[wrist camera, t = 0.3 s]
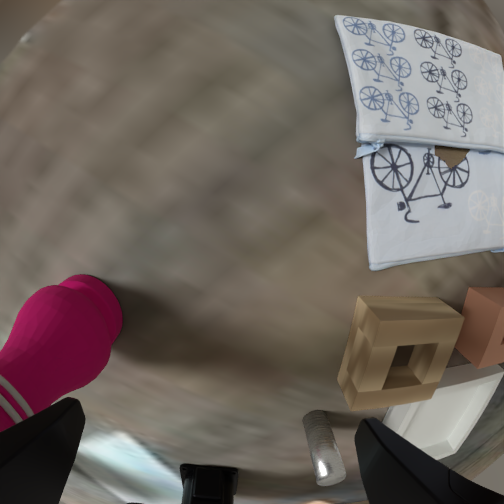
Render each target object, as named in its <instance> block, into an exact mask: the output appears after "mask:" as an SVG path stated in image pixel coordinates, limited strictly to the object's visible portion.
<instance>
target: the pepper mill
mask: <svg viewBox="0 0 504 504" xmlns="http://www.w3.org/2000/svg"><path fill="white" fill-rule="evenodd" d="M122 323H123V318H122V311H121V307H120V305H119V302H118V300H117V298H116V297H115V295H114V294H113V292H112V291H111V290H110V289H109V288H108V287H107V286H106V285H105V284H104V283H103V282H101V281H100V280H98V279H97V278H95V277H92V276H89V275H82V274H80V275H74V276H71V277H69V278H68V279H66V280H65V281H63V282H62V283H60V284H59V285H52V286H47V287H44V288H42V289H40V290H38V291H37V292H36V293H35V294H33V295H32V296H31V297H30V298H29V299H28V300H27V301H26V302H25V304H24V305H23V307H22V308H21V310H20V311H19V313H18V316H17V318H16V321H15V323H14V326H13V329H12V331H11V333H10V336H9V338H8V340H7V342H6V343H5V345H4V347H3V349H2V350H1V351H0V432H1V431H3V430H5V429H7V428H9V427H11V426H13V425H15V424H17V423H19V422H21V421H23V420H25V419H27V418H29V417H31V416H32V415H34V414H36V413H38V412H40V411H42V410H44V409H46V408H47V407H49V406H50V405H51V404H52V403H53V402H55V401H56V400H57V399H59V398H60V397H61V396H63V395H65V394H67V393H69V392H71V391H74V390H76V389H79V388H81V387H84V386H85V385H87V384H88V383H90V382H91V381H93V380H94V379H95V378H96V377H97V376H98V375H99V374H100V373H101V371H102V370H103V369H104V367H105V366H106V365H107V363H108V360H109V357H110V353H111V345H112V344H113V342H114V341H115V339H116V338H117V336H118V335H119V333H120V331H121V328H122Z"/></svg>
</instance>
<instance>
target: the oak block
mask: <svg viewBox="0 0 504 504" xmlns="http://www.w3.org/2000/svg"><path fill="white" fill-rule="evenodd" d="M464 319H465V317H463V316H462V315H461V314H459V313H458V312H457V311H455V310H454V309H453V308H451V307H450V306H448V305H447V304H446V303H444V302H443V301H441V300H440V299H439V298H437V297H385V296H358V299H357V303H356V308H355V312H354V317H353V321H352V325H351V329H350V333H349V337H348V341H347V345H346V349H345V353H344V356H343V360H342V363H341V367H340V370H339V374H338V377H337V380H338V383H339V385H340V387H341V390H342V392H343V394H344V397H345V399H346V401H347V403H348V406H349V408H350V410H351V411H358V410H367V409H375V408H383V407H390V406H396V405H402V404H408V403H414V402H419V401H424V400H429V399H431V398H432V396H433V394H434V392H435V390H436V388H437V386H438V384H439V382H440V380H441V377H442V375H443V373H444V371H445V368H446V366H447V364H448V361H449V359H450V356H451V354H452V351H453V349H454V346H455V344H456V341H457V338H458V336H459V333H460V330H461V327H462V325H463V322H464Z"/></svg>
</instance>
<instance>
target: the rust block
mask: <svg viewBox="0 0 504 504" xmlns="http://www.w3.org/2000/svg"><path fill="white" fill-rule="evenodd" d="M461 315H462V316H463V317H465V319H464V322H463V325H462V327H461V330H460V333H459V336H458V338H457V341H456V344H455V346H454V347H455V348H456V349H457V350H458V351H459V352H460V353H461V354H462V355H463V356H464V357H465V358H466V359H468V360H469V361H470V362H471V363H472V364H473V365H474V366H475V367H476V368H477V369H480V368H484V367H488V366H492V365H495V364H499V363H503V362H504V288H503V287H469V289H468V292H467V296H466V299H465V303H464V306H463V309H462V312H461Z"/></svg>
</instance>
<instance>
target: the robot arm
mask: <svg viewBox="0 0 504 504" xmlns="http://www.w3.org/2000/svg"><path fill="white" fill-rule="evenodd" d="M84 425H85V415H84V412H83V409H82V406H81V403H80V401H79V400H78V399H75V398H71V397H66V398H64V399H62V400H60V401H59V402H57V403H55V404H53V405H51V406H49V407H47V408H46V409H44V410H42V411H40V412H38V413H36V414H34V415H32V416H31V417H29V418H27V419H25V420H23V421H21V422H19V423H17V424H15V425H13V426H11V427H9V428H7V429H5V430H3V431H1V432H0V504H59V501H60V498H61V495H62V492H63V490H64V487H65V484H66V482H67V479H68V476H69V474H70V471H71V468H72V466H73V463H74V461H75V458H76V454H77V451H78V447H79V443H80V440H81V436H82V432H83V429H84ZM355 446H356V451H357V457H358V462H359V468H360V473H361V478H362V481H363V485H364V488H365V491H366V494H367V498H368V501H369V504H504V495H501V494H499V493H496V492H494V491H492V490H489V489H487V488H485V487H482V486H480V485H478V484H476V483H474V482H472V481H470V480H468V479H466V478H465V477H463V476H461V475H459V474H458V473H456V472H455V471H453V470H451V469H449V468H448V467H447V466H445V465H443V464H442V463H440V462H439V461H437V460H436V459H434V458H433V457H431V456H430V455H428V454H427V453H425V452H424V451H422V450H421V449H419V448H418V447H416V446H415V445H413V444H412V443H410V442H409V441H407V440H406V439H405V438H403V437H402V436H400V435H399V434H397V433H396V432H394V431H393V430H392V429H390V428H389V427H387V426H386V425H385V424H383V423H382V422H380V421H379V420H378V419H376V418H374V417H371V418H364V419H362V420H361V422H360V425H359V427H358V429H357V432H356V434H355ZM180 473H181V479H182V484H183V496H182V503H181V504H233V502H234V495H235V494H236V489H237V480H238V470H237V469H231V468H216V467H204V466H194V465H186V464H182V465H180Z"/></svg>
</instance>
